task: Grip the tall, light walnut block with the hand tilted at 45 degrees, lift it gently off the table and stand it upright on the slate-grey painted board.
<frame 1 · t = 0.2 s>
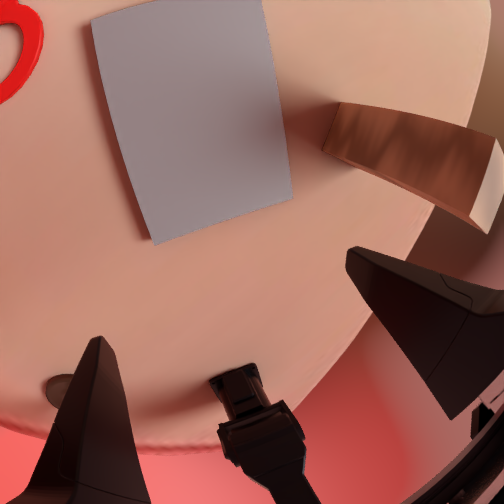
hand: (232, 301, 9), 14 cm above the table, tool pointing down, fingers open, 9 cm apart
candlestick: (78, 393, 27), on the table
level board: (197, 107, 18), on the table
walnut block: (350, 136, 24), on the table
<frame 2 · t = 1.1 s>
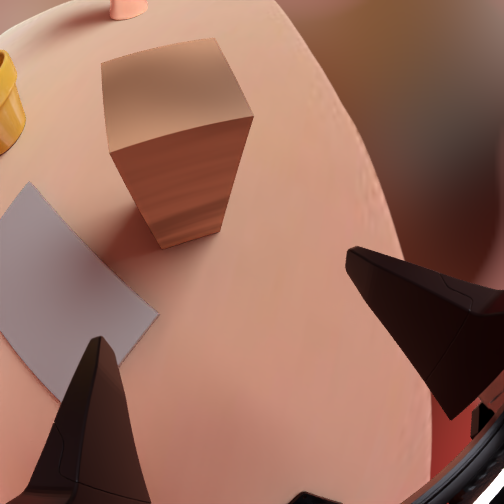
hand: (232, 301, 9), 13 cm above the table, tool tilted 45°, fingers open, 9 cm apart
plant pot: (5, 133, 21), on the table
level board: (45, 295, 19), on the table
walnut block: (182, 212, 23), on the table
beer glass: (128, 12, 28), on the table
when the fingers open (9 cm above the table, at t = 9.8 s): walnut block stays where it is, resting on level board.
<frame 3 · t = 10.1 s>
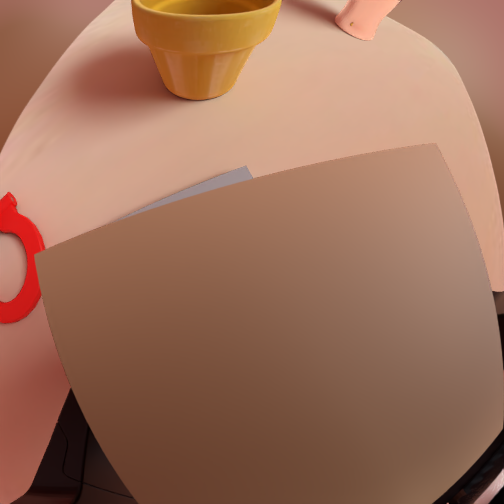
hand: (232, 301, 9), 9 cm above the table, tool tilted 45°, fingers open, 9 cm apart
plant pot: (199, 76, 22), on the table
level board: (223, 326, 18), on the table
tow hook: (8, 263, 16), on the table
walnut block: (227, 328, 17), point 1 cm above the table, touching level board
beer glass: (353, 29, 29), on the table
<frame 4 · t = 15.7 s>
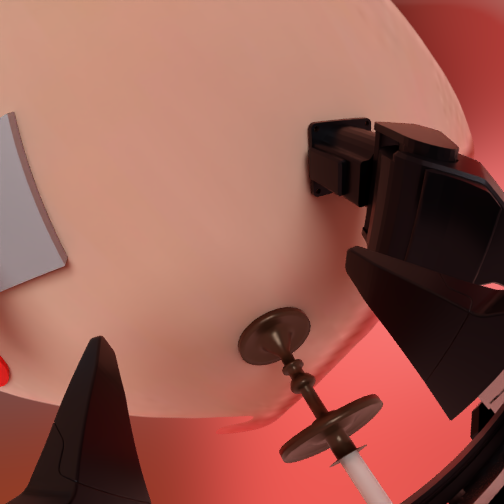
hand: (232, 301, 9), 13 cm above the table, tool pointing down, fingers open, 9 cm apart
candlestick: (273, 334, 33), on the table
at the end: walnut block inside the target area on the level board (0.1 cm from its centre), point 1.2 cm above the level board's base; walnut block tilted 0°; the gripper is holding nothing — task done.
